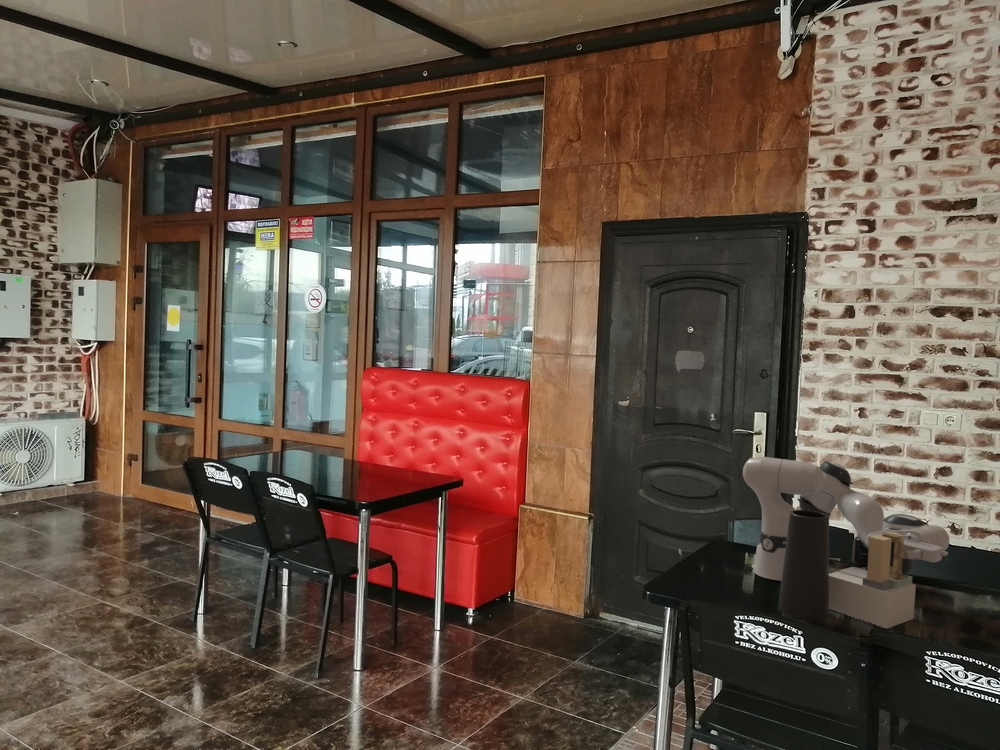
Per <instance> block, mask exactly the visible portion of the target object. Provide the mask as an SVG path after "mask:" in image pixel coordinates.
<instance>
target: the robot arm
mask: <svg viewBox="0 0 1000 750" xmlns="http://www.w3.org/2000/svg"><path fill="white" fill-rule="evenodd" d="M742 477H743V480H744V483H746V485H747V486H748V487H749V488H751V489H752V491H753V492H754V493H755V494H756V496H757V498H758V500H759V504H760V507H761V508H760V509H761V530H760V532H759V536H758V537H759V544H758V545H757V546H756V551H755V558H754V563H753V564H751V567H752V568H753V569H752V568H751V569H752V570H753V573H754V574H755V575H757V576H759V577H761V578H764V579H768V580H774V581H780V582H781V580H782V572H783V564H784V556H785V548H786V540H787V532H788V524H789V516H790V512H791V511H793V510H796V508H795V507H794V506H793V505H791V504H790V503H788V502H787V501H786V500H784V498H783V497H782V493H783V494H788V495H797V496H799V497H797V498H796V499H797V501H798V502H799V503H798V504H799V508H800V510H810V511H816V512H821V513H824V514H827V515H828V516H829V518H830V516H831V515H832V512H833V511H834V509H835V508H836V507H837V510H838V511H839V512H840V514H841V516H842V517H843V518H844V519H845V520H846V521H848V522H849V523H850V524H851V525H852V527H854V529H855V531H856V533H857V534H858V535H857V537H858V536H859V538H860V541H861V542H862V544H863V545H864V546H865V547H866V548H867V549H868V551H869V539H870V537H872V536H877V535H879V536H882V535H883V534H885V533H889V532H892V533H896V534H900V535H904V546H903V560H902V573H901V574H905V575H907V574H908V573H910V572H911V570H913V569H914V561H918V560H919V561H923V562H924V561H925V562H928V563H938V562H940V561H941V560H942V558H943V557H946V556H948V555H949V552H948V551H946V550H947V548H948V547H949V546H950V545H949V544H950V535H949V533H948V532H947V530H946V529H945V528H943V527H942V526H939V525H933V524H931V525H930V524H925V523H924V522H923V521H921V519H919V518H918V517H915V516H913V515H909V514H904V513H898V514H897V513H894V514H891V515H888V516H887V517H885V516H884V515H885V514H884V510H883V507H882V506H881V505H880V503H879V502H878V501H877V500H876V499H874V498H872V496H869V495H867V494H864V493H862V492H860V491H856V490H854V489H852V488H851V485H852V486H853V485H854V482H852V478H851V477H852V476H851V475H850V473H849V470H847V469H846V468H845V467H844V465H841V464H840V463H838V462H835V461H824V462H823V463H821V465H816V464H813V463H810V462H805V461H801V460H793V459H792V460H791V459H784V458H783V459H782V458H777V457H768V456H757V457H749V459H747V460H746V462H745V463H744V466H743V468H742Z"/></svg>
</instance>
